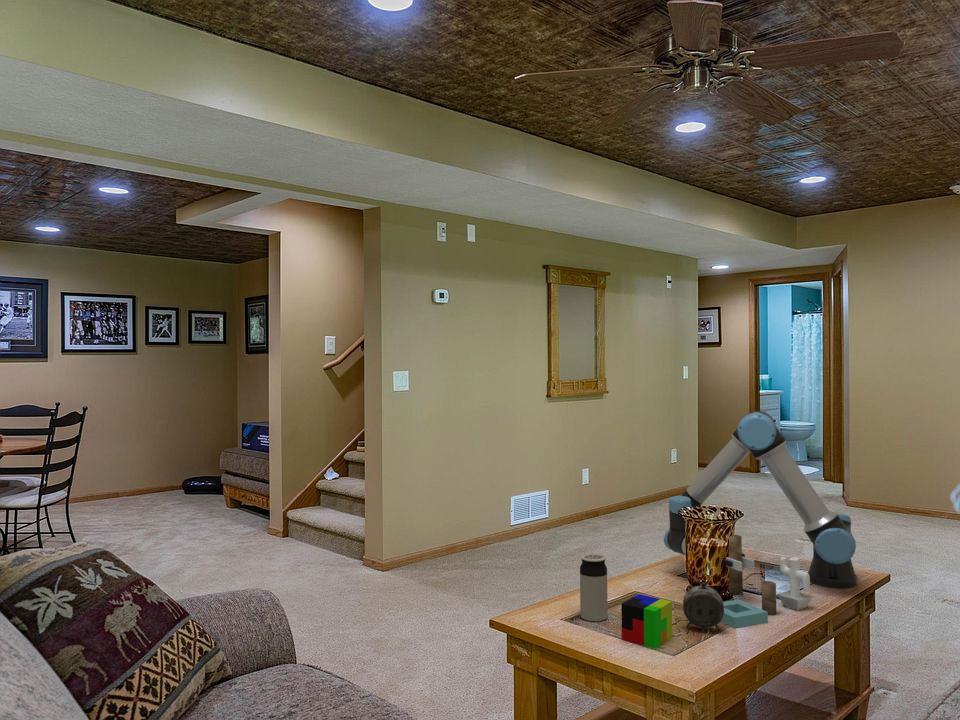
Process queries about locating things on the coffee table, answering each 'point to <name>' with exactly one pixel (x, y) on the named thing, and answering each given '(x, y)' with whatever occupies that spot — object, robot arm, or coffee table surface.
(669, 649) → the coffee table surface
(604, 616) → the travel mug
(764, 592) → the short dowel
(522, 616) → the coffee table surface
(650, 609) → the puzzle toy
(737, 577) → the long dowel
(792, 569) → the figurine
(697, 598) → the alarm clock
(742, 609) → the teal square frame
